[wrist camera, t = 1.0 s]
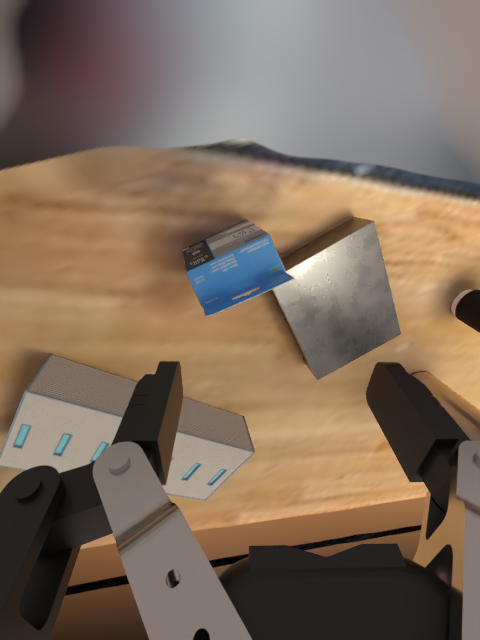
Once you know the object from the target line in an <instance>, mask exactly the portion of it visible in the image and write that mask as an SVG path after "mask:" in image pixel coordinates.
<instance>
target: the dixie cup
mask: <svg viewBox="0 0 480 640" xmlns="http://www.w3.org/2000/svg"><path fill="white" fill-rule="evenodd" d="M451 311H452V313H453V314H454V315H455V316H456V317H457V318H458V319H459V320H461V321H462V322H464V323H465V324H467V325H468V326H470V327H472V328H473V329H475V330H476V331H478V332H479V333H480V290H472V289H468V290H465V291H463V292H461V293H460V294H459V295H458V296H457V297H456V298H455V299H454V301H453V303H452V306H451Z"/></svg>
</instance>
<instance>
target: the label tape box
mask: <svg viewBox="0 0 480 640" xmlns="http://www.w3.org/2000/svg"><path fill="white" fill-rule="evenodd" d="M182 253H183V259H184V265H185V271H186V274H187V276H188V278H189V280H190V282H191V284H192V286H193V289H194V291H195V293H196V295H197V297H198V300H199V302H200V304H201V306H202V307H203V309H204V312H205V316H211V315H214V314H217V313H220V312H222V311H224V310H227V309H229V308H231V307H233V306H236V305H238V304H240V303H243V302H245V301H247V300H250V299H252V298H254V297H256V296H258V295H261V294H263V293H265V292H267V291H270V290H272V289H274V288H276V287H278V286H281V285H283V284H285V283H287V282H289V281H291V280H294V278H293V277H292V276H291V275H289V274H287V273H286V270H285V267H284V265H283V263H282V261H281V259H280V257H279V254H278V252H277V250H276V248H275V246H274V243H273V241H272V239H271V237H270V235H269V234H268V233H266V232H265V231H263V230H262V229H260V228H259V227H257V226H256V225H254V224H253V223H251V222H250V221H248V220H246V221H244V222H242V223H240V224H238V225H235V226H233V227H231V228H229V229H227V230H225V231H222V232H220V233H218V234H216V235H214V236H212V237H210V238H207V239H205V240H203V241H201V242H199V243H197V244H194V245H192V246H190V247H188V248H186V249H184V250H182ZM258 287H261V288H260V289H258V290H256V291H254V292H252V293H251V294H250V295H247V296H242V297H240V298H237V299H235V300H233V299H234V298H236V297H238V296H240V295H242V294H245V293H247V292H249V291H251V290H254V289H256V288H258Z"/></svg>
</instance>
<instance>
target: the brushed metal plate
mask: <svg viewBox="0 0 480 640" xmlns="http://www.w3.org/2000/svg"><path fill="white" fill-rule="evenodd" d="M281 261H282V263H283V265H284V267H285V270H286V273H287V274H289V275H291V276H292V277H293V278H294V280H291V281H289V282H287V283H285V284H283V285H281V286H278V287H276V288H274V289H272V292H273V294H274V296H275V298H276V300H277V302H278V304H279V306H280V308H281V310H282V312H283V314H284V316H285V318H286V320H287V322H288V324H289V326H290V328H291V330H292V333H293V335H294V337H295V339H296V341H297V343H298V345H299V347H300V349H301V351H302V353H303V355H304V357H305V358H303V359H304V361H305V363H306V365H307V367H308V368H309V369H310V371H311V372H312V373H313V375H314V376H315V378H316V379H317V380H319V379H320V378H322V377H324V376H326V375H328V374H329V373H331V372H333V371H335V370H337V369H338V368H340V367H342V366H344V365H346V364H348V363H349V362H351V361H353V360H355V359H357V358H358V357H360V356H362V355H364V354H366V353H367V352H369V351H371V350H373V349H375V348H376V347H378V346H380V345H382V344H384V343H386V342H387V341H389V340H391V339H393V338H395V337H396V336H398V335H400V334H401V332H400V328H399V323H398V319H397V315H396V311H395V307H394V302H393V298H392V294H391V290H390V286H389V281H388V277H387V273H386V269H385V265H384V260H383V256H382V252H381V248H380V244H379V239H378V235H377V231H376V227H375V223H374V221H371V220H366V219H361V218H356V217H354V218H352V219H351V220H349V221H347V222H345V223H344V224H342V225H340V226H338V227H337V228H335V229H333V230H331V231H330V232H328V233H326V234H324V235H323V236H321V237H319V238H318V239H316V240H314V241H312V242H311V243H309V244H307V245H305V246H304V247H302V248H300V249H298V250H297V251H295V252H293V253H291V254H290V255H288V256H286V257H284V258H283V259H281Z"/></svg>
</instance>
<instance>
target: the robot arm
mask: <svg viewBox="0 0 480 640" xmlns="http://www.w3.org/2000/svg"><path fill="white" fill-rule="evenodd" d="M366 398H367V402H368V405H369V407H370V409H371V411H372V412H373V414H374V416H375V418H376V420H377V422H378V424H379V425H380V427H381V429H382V431H383V433H384V435H385V437H386V438H387V440H388V442H389V444H390V446H391V448H392V450H393V451H394V453H395V455H396V457H397V459H398V461H399V463H400V464H401V466H402V468H403V470H404V472H405V474H406V476H407V477H408V479H409V481H410V482H424V483H425V485H426V487H427V488H428V490H429V491H428V492H427V495H426V501H425V508H424V515H423V522H422V529H421V536H420V542H419V547H418V550H417V553H416V555H415V557H414V560H413V561H412V560H409V559H407V558H405V557H403V556H402V554H401V552H400V549H399V547H398V545H397V544H361V545H358V546H355V547H353V548H350V549H347V550H345V551H342V552H340V553H337V554H334V555H332V556H329V557H324V556H320V555H317V554H313V553H310V552H307V551H303V550H300V549H297V548H293V547H290V546H287V545H285V546H284V545H281V546H280V545H279V546H249V554H248V557H247V558H245V559H242V560H240V561H238V562H236V563H234V564H232V565H231V566H230V567H228V568H227V569H226V570H224V571H223V572H222V573H221V574H220V575H219V576H218V577H217V575H216V573H215V572H214V570H213V568H212V566H211V565H210V563H209V561H208V559H207V558H206V556H205V554H204V552H203V550H202V548H201V547H200V545H199V543H198V541H197V539H196V538H195V536H194V534H193V532H192V531H191V529H190V527H189V525H188V523H187V522H186V520H185V518H184V516H183V514H182V513H181V511H180V509H179V508H178V506H177V505H176V504H175V503H172V502H171V501H170V499H169V497H168V496H167V494H166V492H165V490H164V488H163V486H162V485H166V483H167V478H168V473H169V468H170V463H171V458H172V453H173V448H174V443H175V438H176V433H177V428H178V423H179V418H180V413H181V407H182V401H183V387H182V377H181V367H180V362H178V361H161V362H160V363H159V365H158V368H157V371H156V374H146V375H145V376H144V377H143V378H142V379H141V380H140V381H139V382H138V383H137V384H136V386H135V389H134V391H133V394H132V397H131V399H130V401H129V403H128V406H127V408H126V411H125V413H124V416H123V418H122V420H121V423H120V425H119V428H118V430H117V433H116V435H115V437H114V440H113V442H112V444H111V446H110V447H108V448H107V449H106V450H104V451H103V452H102V453H101V454H100V455H99V457H98V458H97V459H96V460H95V461H93V462H91V463H89V464H87V465H84V466H81V467H78V468H75V469H71V470H68V471H65V472H61V473H58V471H57V470H56V469H55V468H54V467H52V466H48V465H41V466H36V467H33V468H30V469H28V470H26V471H24V472H22V473H20V474H19V475H17V476H16V477H15V478H13V479H12V480H11V481H10V482H9V483H8V484H7V485H6V486H5V488H4V489H3V490H2V492H1V493H0V640H50V637H51V634H52V631H53V628H54V625H55V622H56V619H57V616H58V613H59V610H60V607H61V604H62V601H63V598H64V595H65V592H66V589H67V586H68V583H69V580H70V577H71V574H72V571H73V568H74V565H75V562H76V559H77V556H78V553H79V550H80V547H81V545H83V544H85V543H88V542H91V541H93V540H96V539H98V538H101V537H104V536H106V535H109V534H112V533H113V534H114V537H115V540H116V543H117V548H118V551H119V554H120V557H121V560H122V563H123V566H124V569H125V571H126V574H127V577H128V580H129V583H130V585H131V589H132V591H133V594H134V597H135V600H136V603H137V606H138V608H139V611H140V614H141V617H142V620H143V623H144V625H145V628H146V631H147V634H148V637H149V640H480V410H478V409H477V408H476V407H474V406H473V405H472V404H470V403H469V402H468V401H466V400H465V399H464V398H462V397H461V396H460V395H458V394H457V393H456V392H454V391H453V390H452V389H450V388H449V387H448V386H447V385H445V384H444V383H443V382H441V381H440V380H439V379H437V378H436V377H435V376H433V375H432V374H430V373H428V372H419V373H415V374H413V375H409V374H408V373H407V372H406V371H405V369H404V368H403V367H402V365H401V364H399V363H397V362H379V363H377V364H376V365H375V368H374V370H373V373H372V376H371V379H370V382H369V385H368V387H367V391H366Z"/></svg>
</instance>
